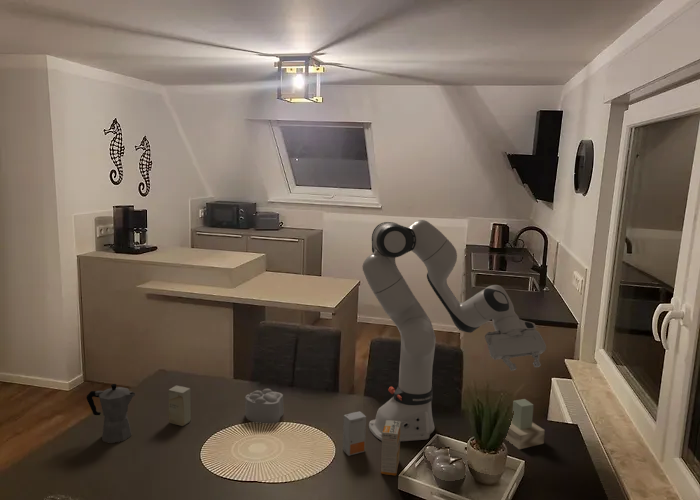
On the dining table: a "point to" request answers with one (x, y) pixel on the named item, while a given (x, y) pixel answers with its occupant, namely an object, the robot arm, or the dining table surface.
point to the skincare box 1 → (179, 405)
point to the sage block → (522, 414)
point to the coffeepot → (113, 412)
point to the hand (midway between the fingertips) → (526, 368)
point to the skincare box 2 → (354, 433)
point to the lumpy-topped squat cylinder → (264, 406)
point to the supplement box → (390, 447)
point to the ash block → (525, 436)
